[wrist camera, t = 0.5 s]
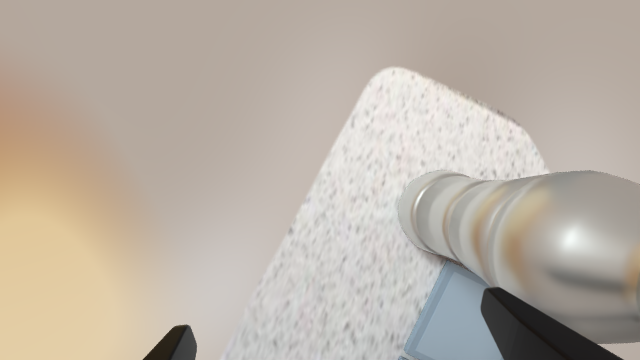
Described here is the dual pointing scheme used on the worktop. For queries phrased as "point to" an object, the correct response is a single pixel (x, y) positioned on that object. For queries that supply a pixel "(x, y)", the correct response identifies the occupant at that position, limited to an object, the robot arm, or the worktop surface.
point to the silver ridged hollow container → (540, 242)
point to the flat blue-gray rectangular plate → (453, 320)
